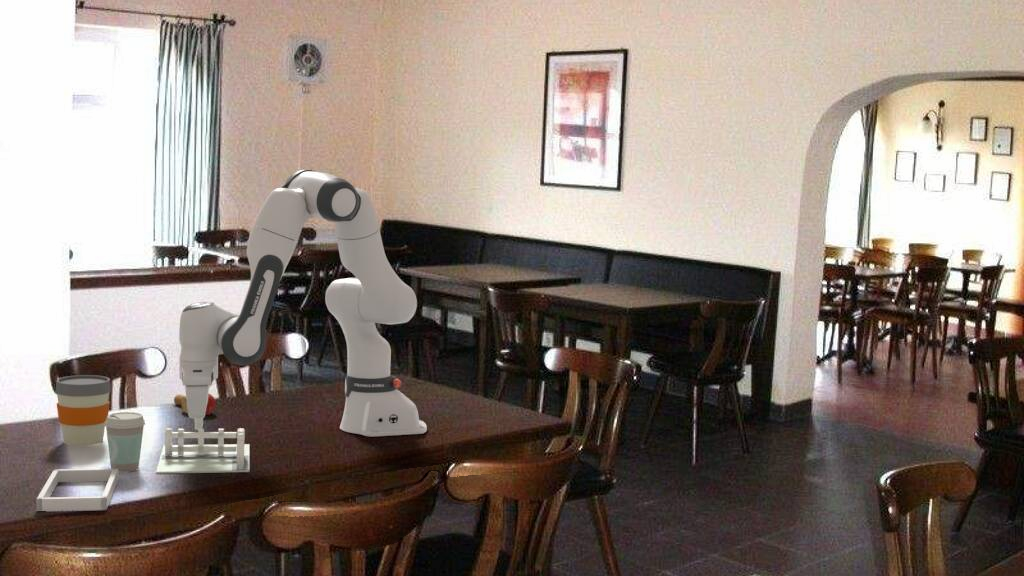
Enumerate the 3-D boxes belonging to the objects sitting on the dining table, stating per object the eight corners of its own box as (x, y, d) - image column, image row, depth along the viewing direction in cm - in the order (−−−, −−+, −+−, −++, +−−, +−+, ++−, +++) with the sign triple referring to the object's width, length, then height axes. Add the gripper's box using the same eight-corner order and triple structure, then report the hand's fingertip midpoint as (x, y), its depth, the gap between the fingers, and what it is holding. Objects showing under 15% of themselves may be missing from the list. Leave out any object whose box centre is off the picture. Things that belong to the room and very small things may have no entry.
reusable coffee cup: (121, 438, 296) (121, 378, 295) (88, 450, 285) (88, 386, 283) (78, 433, 301) (78, 373, 299) (43, 443, 289) (43, 381, 287)
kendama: (163, 411, 334) (194, 414, 321) (166, 388, 335) (197, 390, 321) (189, 413, 339) (221, 416, 326) (191, 390, 340) (223, 393, 327)
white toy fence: (244, 453, 284) (245, 428, 283) (244, 455, 282) (244, 430, 281) (165, 453, 281) (165, 428, 280) (164, 455, 279) (164, 430, 279)
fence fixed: (237, 457, 282) (237, 430, 281) (244, 457, 282) (244, 430, 281) (236, 469, 271) (236, 441, 270) (243, 469, 271) (244, 441, 270)
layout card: (249, 445, 295) (249, 443, 295) (249, 471, 271) (249, 469, 271) (163, 446, 290) (163, 444, 290) (156, 473, 267) (156, 471, 267)
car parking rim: (118, 479, 261) (118, 468, 261) (106, 510, 240) (106, 497, 239) (54, 480, 258) (54, 469, 258) (36, 511, 237) (36, 499, 237)
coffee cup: (109, 463, 274) (109, 411, 272) (148, 464, 275) (148, 411, 273) (100, 473, 265) (100, 419, 264) (140, 474, 266) (140, 420, 265)
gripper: (187, 362, 296) (187, 418, 298) (182, 379, 276) (182, 439, 278) (214, 362, 298) (214, 418, 299) (210, 379, 278) (210, 438, 279)
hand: (198, 428), depth 289 cm, fingers closed
